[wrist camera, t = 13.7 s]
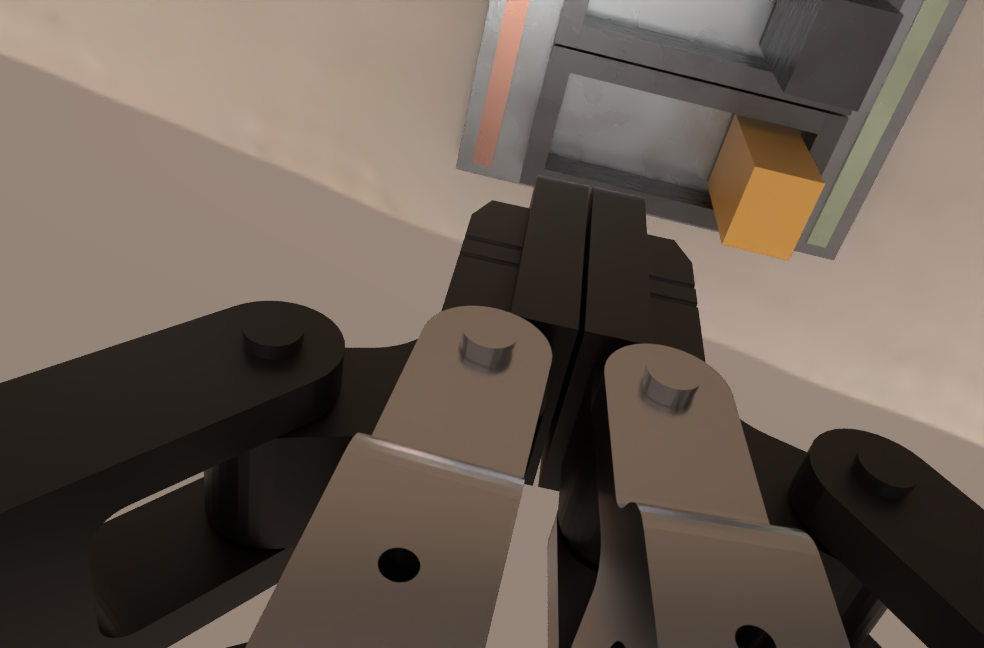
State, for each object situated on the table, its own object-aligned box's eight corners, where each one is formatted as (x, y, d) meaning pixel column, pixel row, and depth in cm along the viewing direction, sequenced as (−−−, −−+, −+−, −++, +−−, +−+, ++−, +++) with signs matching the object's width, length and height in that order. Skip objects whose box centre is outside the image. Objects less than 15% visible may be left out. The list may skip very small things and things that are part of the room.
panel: (460, 154, 36) (435, 228, 31) (571, -389, 26) (563, -426, 20) (825, 242, 37) (865, 331, 31) (1075, -256, 26) (1200, -256, 21)
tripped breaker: (707, 183, 34) (722, 244, 30) (735, 112, 32) (754, 166, 28) (765, 197, 34) (788, 260, 30) (796, 127, 32) (825, 184, 28)
